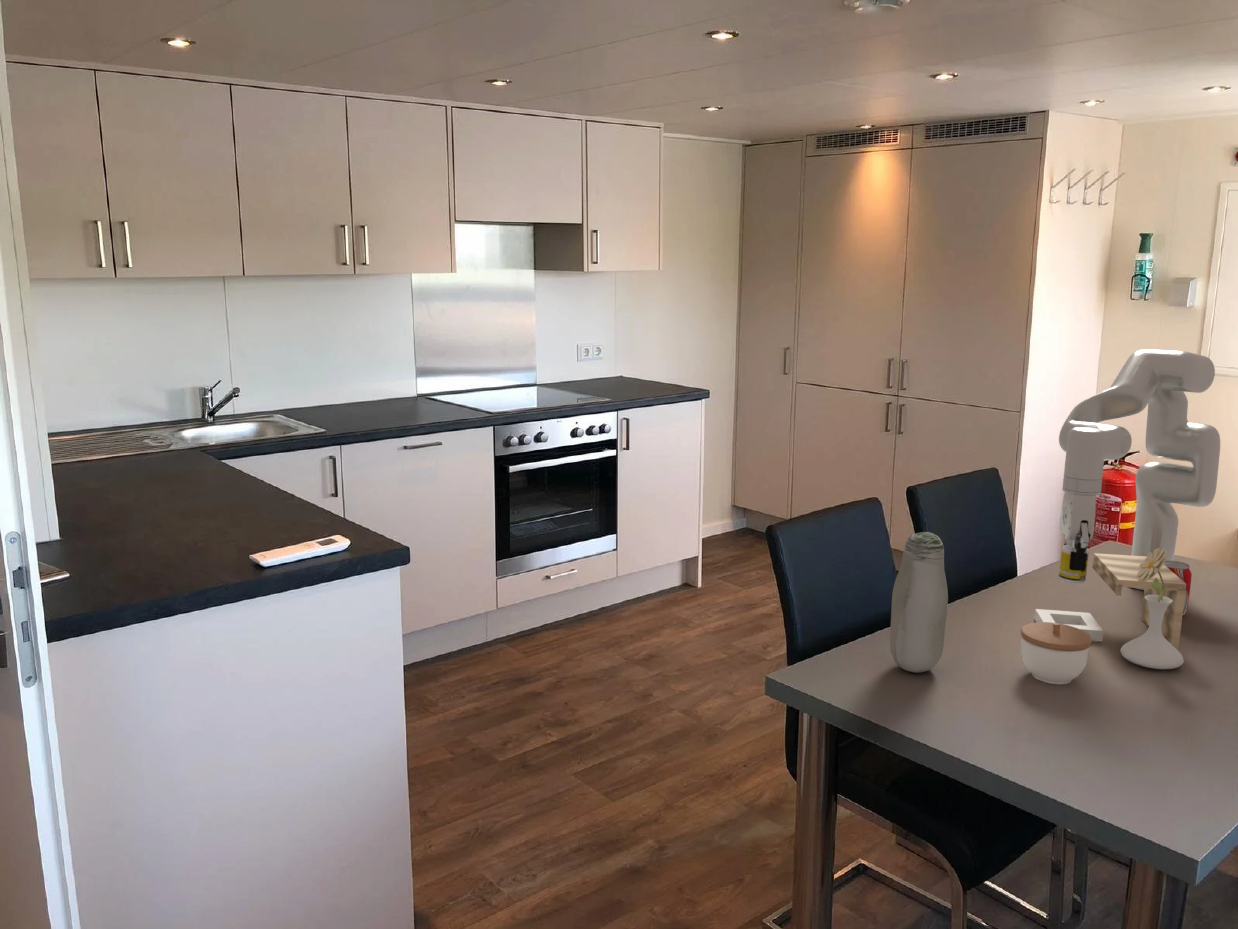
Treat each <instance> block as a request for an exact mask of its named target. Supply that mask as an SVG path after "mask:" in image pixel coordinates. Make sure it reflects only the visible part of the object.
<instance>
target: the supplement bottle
mask: <svg viewBox="0 0 1238 929" xmlns="http://www.w3.org/2000/svg"><path fill="white" fill-rule="evenodd" d="M1076 538H1081V536H1078V535H1076ZM1078 542H1080V541H1077V544H1078ZM1065 544H1067V545H1064V544H1063V546H1062V548H1061V553H1060V561H1059V562H1060V563H1059V570H1058V579H1059V580H1060V581H1061V582H1065V583H1070V584H1075V585H1076V584H1083V583H1085V582H1086V579H1087V571H1088V562H1089V552H1090V551H1089V550H1088V552H1087V561H1086V569H1085V571H1079V570H1070V569H1069V564H1070V554H1071V551H1072V552H1073V537H1072V538H1071V539H1069V538H1067V539H1066V543H1065Z"/></svg>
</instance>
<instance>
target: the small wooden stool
mask: <svg viewBox="0 0 1238 929" xmlns="http://www.w3.org/2000/svg"><path fill="white" fill-rule="evenodd" d="M1146 557H1147V556H1131V554H1130V555H1126V554H1114V553H1113V554H1111V553H1093V559H1092V566H1091V567H1092V569H1093V570H1094V572H1095V573H1096V574H1097V575H1098V576H1099V578H1101V580H1102V581H1103V582H1104V583H1105V584H1106V585H1107V586H1108V587H1109V588H1110V590H1112V591H1113V593H1114V595H1116V596H1119V597H1121V596H1122V590H1123V588H1134V589H1136V588H1145V589H1144V590H1143V600H1142V605H1141V606H1142V607H1141V616H1140V618H1141V620H1142V619H1143V620H1142V621H1143V622H1144V623H1145V624H1146V626H1147V627H1148V626H1149V621H1150V611H1149V606H1148V603H1147V601H1146V599H1145V598H1144V597H1145V596H1146V595H1159V593H1158V592H1157V591H1156V590H1155V589H1154V588H1153V587H1152V582H1153V580H1154V579H1155V578H1157V579H1158V581H1159V582H1160V583H1161V585H1162V582H1161V579H1160V576H1159V574H1158V572H1157V573H1156V575H1155V576H1153V577H1152V578H1151V579H1150V580H1149V579H1148V580H1147V581H1146V582H1145V581H1143V582H1141V581H1138V579H1139V578H1140V577H1136V575H1137V574H1138V571H1140V570H1141V569H1142V568H1140V567H1139V566H1140V564H1141V563H1144V562H1145V558H1146ZM1160 573H1161V576H1162V579H1163V582H1164V588H1166V589H1165V592H1164V593H1163V596H1164V597H1168V598H1170V599H1172V600H1173V602H1172V603H1171V604H1170V605H1169V606H1168V607H1167V609H1166V610H1165V613H1164V616H1163V620H1162V627H1161V630H1162V635H1163V636H1164V638H1165V639H1166V640H1167V641H1168V642H1169V643H1170V644H1172V645H1173V646H1174V647H1175V648H1176V649H1177V650H1178V651H1179V647H1180V646H1179V645H1180V638H1181V631H1182V622H1183V616H1184V615H1183V608H1184V600H1185V592H1186V583H1185V582H1183V581H1182V580H1181V579H1180V578H1179V577H1178V576H1177V575H1175V574H1174V573H1173V572H1172V571H1171V570H1170V569H1169V568H1167V567H1166V566H1165V565H1164V564H1163V566H1162V567H1161V570H1160Z"/></svg>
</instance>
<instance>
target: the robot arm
mask: <svg viewBox="0 0 1238 929" xmlns="http://www.w3.org/2000/svg"><path fill="white" fill-rule="evenodd" d="M1215 375H1216V369H1215V365H1214V362H1213V361H1212V360H1211V358H1210V357H1209V356H1205V355H1202V354H1197V353H1194V352H1189V351H1183V350H1172V349H1171V350H1169V349H1154V348H1152V349H1151V348H1145V349H1139V350H1136V351H1135V352H1133V353H1131V355H1129V357H1128V359H1126V361H1125V362H1124V365H1123V366H1122V367H1121V369H1120V371H1119V372H1118V374H1117V376H1116V378H1115V379H1114V381H1113V382H1112V384H1111V385H1110V386H1109V388H1108V389H1104V390H1102V391H1100V392H1098V393H1096V394H1094V395H1092V396H1090V397H1088V398H1085V399H1084V400H1082V401H1081V402H1079V403H1078V404H1077V405H1075V406H1074V407H1073V408H1072V410H1071V411H1070V413H1069V415H1068V416H1067V418H1066V419H1065V421H1064V422H1063V425H1062V426H1061V429H1060V431H1059V435H1058V444H1059V446H1060V448H1061V450H1062V451H1063V452H1065V460H1064V471H1063V480H1062V489H1061V490H1062V491H1063V492H1064V494H1063V500H1062V503H1061V512H1060V519H1059V530H1060V531H1061V532H1062V534H1063V535H1064V544H1063V546H1064V545H1067V543H1066V539H1067V538H1069V539H1071V538H1072V537H1073V552H1072V551H1071V554H1070V564H1069V569H1070V570H1079V571H1085V569H1086V561H1087V552H1088V551H1089V549H1088V547H1089V543H1090V542H1089V541H1090V540H1091V539H1093V535H1094V529H1095V520H1096V508H1097V507H1096V505H1097V502H1096V501H1097V500H1096V499H1097V496H1099V495H1101V494H1102V485H1103V484H1102V483H1103V473H1104V466H1105V460H1108V461H1109V460H1110V461H1115V460H1119V459H1122V458H1123V457H1125V456H1127V454H1128V453H1129V451H1130V450H1131V448H1132V435H1131V433H1130V432H1129V430H1128V429H1127V428H1125V427H1123V426H1120V425H1115V424H1106V423H1101V422H1104V421H1110V420H1115V419H1116V420H1117V419H1120V418H1125V417H1131V416H1134V415H1136V414H1139V413H1141V412H1142V411H1144V410H1145V408H1147V415H1146V417H1147V418H1146V427H1145V428H1146V430H1145V431H1146V432H1145V449H1146V452H1147V453H1148V454H1149V455H1150V456H1153V457H1156V458H1160V459H1166V460H1174V461H1179V462H1180V461H1181V462H1187V463H1191V464H1192V466H1190V465H1181V464H1178V463H1171V462H1163V461H1150V462H1146V463H1144V464H1142V465H1141V466H1139V467H1138V469H1137V470H1136V474H1135V492H1136V494H1135V495H1136V505H1135V506H1136V508H1135V520H1134V528H1133V529H1134V530H1133V536H1132V546H1131V554H1130V556H1147V555H1148V553H1150V552H1151V553H1152V555H1153V552H1154V550H1155V549H1157V548H1160V551H1161V550H1162V549H1163V548H1164V551H1166V553H1165V554H1166V557H1165V558H1166V560H1165V561H1175V560H1174V559H1175V553H1176V545H1177V538H1178V528H1179V518H1178V513H1177V512H1176V510H1175V508H1174V507H1173V505H1172V504H1177V505H1184V506H1189V507H1196V508H1197V507H1198V508H1204V507H1208V506H1210V505H1211V503H1212V502H1213V501H1214V499H1215V496H1216V492H1217V485H1218V475H1219V463H1220V453H1221V437H1220V432H1219V430H1218V429H1217V428H1216V427H1215V426H1213V425H1210V424H1207V423H1200V422H1192V421H1189V420H1188V409H1189V408H1188V406H1189V401H1188V397H1187V395H1186V394H1185V393H1194V394H1196V393H1197V394H1198V393H1199V394H1201V393H1204V392H1206V391H1207V390H1208V389H1209V388H1211V386H1212V385H1213V382H1214V380H1215ZM1076 535H1078V536H1081V538H1076ZM1077 541H1080V542H1078V544H1077ZM1135 589H1136V590H1137V589H1138V590H1141V591H1144V589H1145V588H1135Z"/></svg>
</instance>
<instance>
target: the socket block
mask: <svg viewBox="0 0 1238 929" xmlns="http://www.w3.org/2000/svg"><path fill="white" fill-rule="evenodd" d="M1034 619H1035V620H1034V621H1035V622H1051V623H1059V624H1064V625H1069V626H1072V627H1075V628H1078V629H1080V630H1082V631H1084V632H1086V633H1088V634H1089V635H1090V637H1091V639H1092V641H1091V642H1098V641H1100V643H1101V641H1102V642H1103V637H1104V630H1103V628H1102V627H1101V626H1100V625H1099V624H1098V622H1097V621H1096V620H1095V618H1094V617H1093V615H1092V614H1091V613H1090V612H1084V611H1069V610H1056V609H1055V610H1054V609H1043V608H1042V609H1041V608H1035V609H1034Z"/></svg>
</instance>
